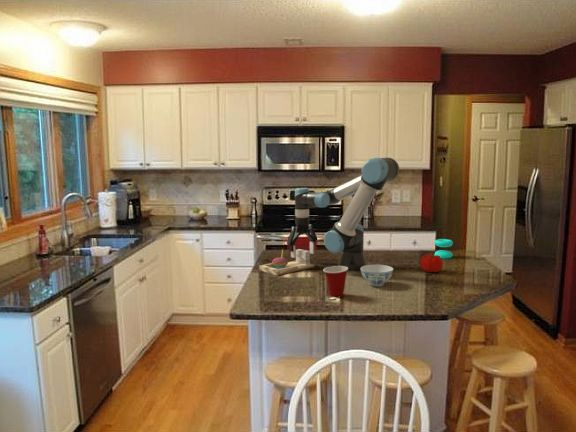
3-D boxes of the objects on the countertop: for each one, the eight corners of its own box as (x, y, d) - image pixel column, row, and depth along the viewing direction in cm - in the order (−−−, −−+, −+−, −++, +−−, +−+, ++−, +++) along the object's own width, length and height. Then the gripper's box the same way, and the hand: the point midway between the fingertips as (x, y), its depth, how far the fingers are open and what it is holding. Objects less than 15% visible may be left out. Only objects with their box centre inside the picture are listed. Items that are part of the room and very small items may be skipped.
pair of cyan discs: (431, 239, 286) (442, 238, 291) (430, 256, 287) (442, 254, 293) (445, 242, 278) (456, 240, 283) (444, 259, 279) (456, 257, 285)
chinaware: (386, 290, 220) (386, 273, 219) (355, 286, 228) (355, 269, 227) (397, 282, 233) (398, 266, 232) (368, 278, 241) (368, 263, 240)
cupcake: (290, 269, 262) (290, 247, 261) (283, 273, 255) (283, 250, 253) (276, 268, 266) (275, 246, 264) (269, 271, 258) (268, 249, 257)
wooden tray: (314, 266, 266) (314, 251, 265) (276, 275, 249) (276, 259, 248) (296, 262, 277) (296, 248, 276) (259, 270, 261) (258, 254, 260)
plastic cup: (321, 292, 220) (321, 265, 218) (345, 291, 221) (345, 264, 219) (325, 299, 209) (325, 271, 208) (350, 298, 210) (350, 270, 208)
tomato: (443, 274, 247) (444, 257, 246) (420, 273, 249) (421, 256, 248) (441, 269, 257) (441, 253, 256) (419, 268, 259) (419, 252, 258)
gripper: (314, 214, 277) (314, 251, 280) (279, 218, 262) (280, 257, 264) (323, 215, 272) (324, 253, 275) (288, 219, 256) (289, 260, 259)
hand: (302, 255), depth 270 cm, fingers open, 13 cm apart
